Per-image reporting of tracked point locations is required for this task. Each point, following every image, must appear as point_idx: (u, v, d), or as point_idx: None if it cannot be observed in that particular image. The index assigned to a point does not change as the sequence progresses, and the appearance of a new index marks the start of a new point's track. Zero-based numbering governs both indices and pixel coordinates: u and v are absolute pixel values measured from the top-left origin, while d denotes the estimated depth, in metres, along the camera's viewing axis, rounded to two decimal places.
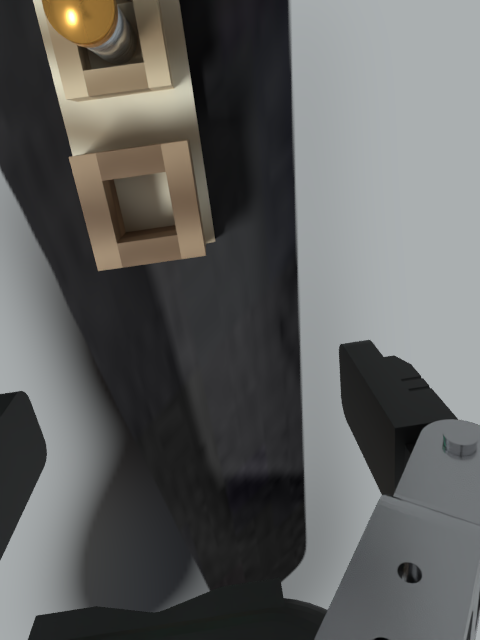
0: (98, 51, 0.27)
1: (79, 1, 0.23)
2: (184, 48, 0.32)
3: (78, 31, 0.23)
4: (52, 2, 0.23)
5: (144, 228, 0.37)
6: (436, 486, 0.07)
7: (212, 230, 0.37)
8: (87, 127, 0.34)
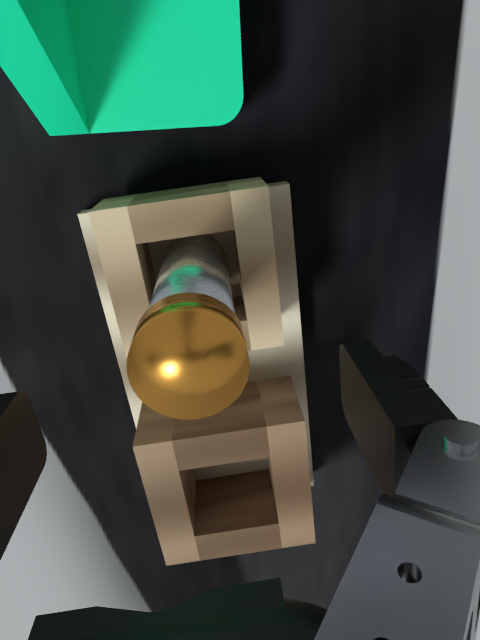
0: None
1: (192, 367, 0.13)
2: (294, 270, 0.22)
3: (186, 405, 0.13)
4: (144, 369, 0.13)
5: (221, 475, 0.27)
6: (436, 486, 0.07)
7: (311, 473, 0.28)
8: None
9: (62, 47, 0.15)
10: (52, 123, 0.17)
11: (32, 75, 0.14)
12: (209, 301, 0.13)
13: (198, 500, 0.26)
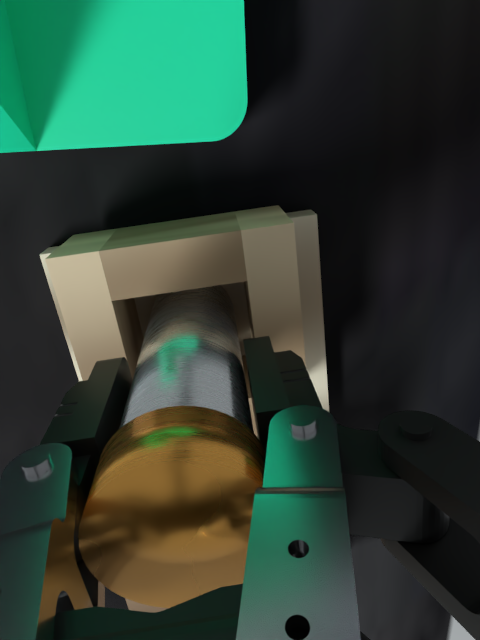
0: None
1: (187, 539, 0.08)
2: (320, 322, 0.17)
3: (178, 590, 0.08)
4: (109, 543, 0.08)
5: None
6: (265, 461, 0.07)
7: None
8: None
9: None
10: None
11: None
12: (215, 424, 0.08)
13: None
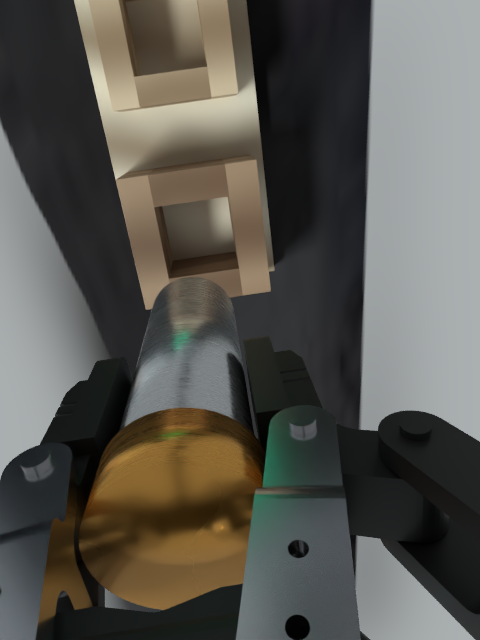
0: None
1: (188, 541, 0.08)
2: (249, 48, 0.27)
3: (179, 592, 0.08)
4: (109, 545, 0.08)
5: (194, 256, 0.32)
6: (266, 461, 0.07)
7: (271, 257, 0.32)
8: (132, 142, 0.29)
9: None
10: None
11: None
12: (215, 426, 0.08)
13: (174, 267, 0.31)
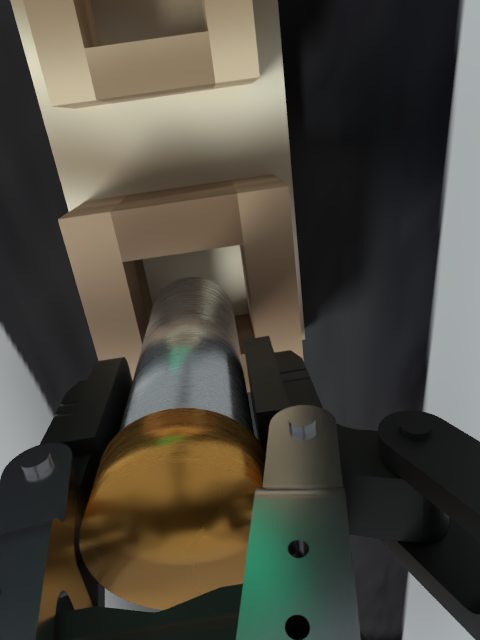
0: None
1: (188, 541, 0.08)
2: (275, 8, 0.17)
3: (179, 592, 0.08)
4: (110, 545, 0.08)
5: None
6: (266, 461, 0.07)
7: (301, 322, 0.22)
8: (93, 155, 0.19)
9: None
10: None
11: None
12: (215, 427, 0.08)
13: None
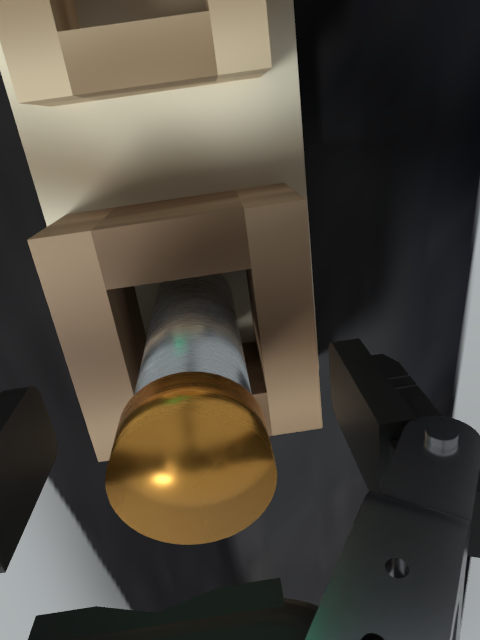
0: None
1: (198, 482, 0.09)
2: None
3: (189, 528, 0.10)
4: (131, 485, 0.09)
5: None
6: (415, 480, 0.07)
7: None
8: (74, 161, 0.16)
9: None
10: None
11: None
12: (220, 386, 0.10)
13: None
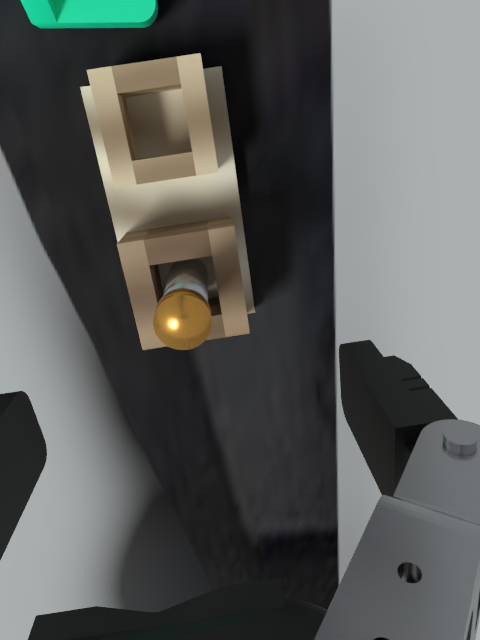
0: None
1: (184, 323, 0.27)
2: (228, 131, 0.33)
3: (181, 342, 0.27)
4: (161, 324, 0.27)
5: None
6: (436, 486, 0.07)
7: (252, 301, 0.37)
8: (131, 207, 0.34)
9: None
10: (32, 11, 0.27)
11: None
12: (192, 292, 0.27)
13: None
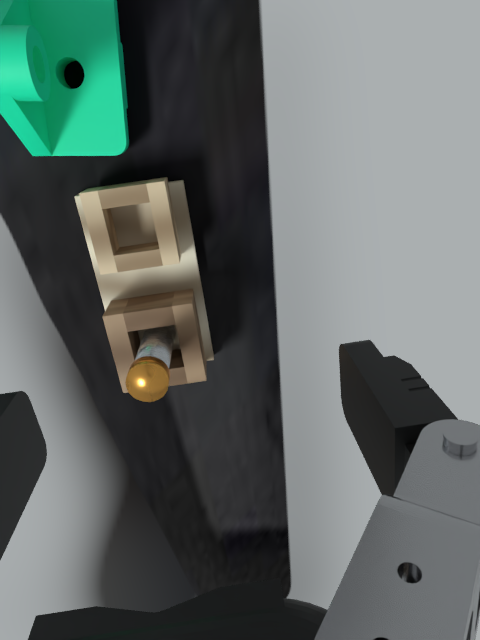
0: None
1: (148, 383, 0.37)
2: (189, 227, 0.42)
3: (146, 396, 0.37)
4: (131, 383, 0.37)
5: None
6: (436, 486, 0.07)
7: (211, 351, 0.47)
8: (114, 282, 0.44)
9: (39, 119, 0.35)
10: (33, 150, 0.37)
11: (24, 132, 0.34)
12: (155, 359, 0.37)
13: None
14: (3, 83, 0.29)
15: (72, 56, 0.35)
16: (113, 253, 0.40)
